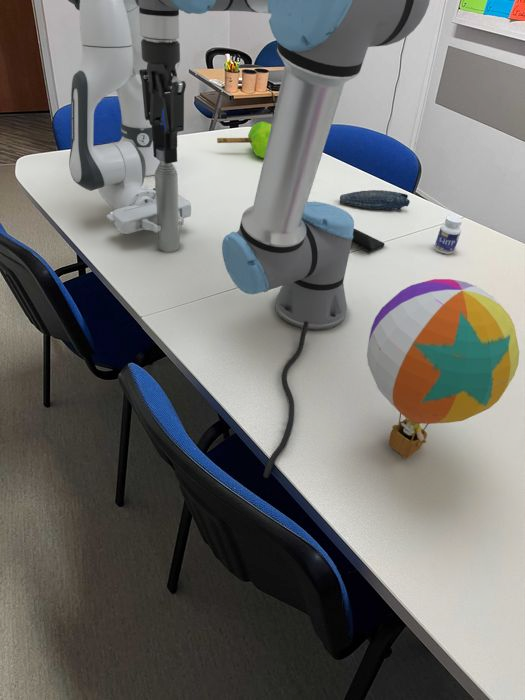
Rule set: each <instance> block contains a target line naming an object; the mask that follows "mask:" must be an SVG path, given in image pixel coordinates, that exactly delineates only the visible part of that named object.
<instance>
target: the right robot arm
mask: <svg viewBox="0 0 525 700" xmlns="http://www.w3.org/2000/svg"><path fill="white" fill-rule="evenodd" d="M430 2H431V0H139V19H140V35H141V36H142V37H144V39H142V41H141V49H142V59H143V60H144V61H145V62H147V63H148V64H147V69H142V70H140V71H139V73H140V75H139V77H140V81H141V85H142V90H143V102H144V114H145V119H146V120H149V121H150V125H151V126H152V138H153V153H154V157H155V158H156V147H158V146H164V147H165V163H167V164H168V163H172V164H173V163H177V162H178V133H179V132H184V130H185V91H186V88H187V86H186V85H187V83H186V81H185V80H180V79H179V78H178V73H177V70H176V68H175V66H176V64H177V63H179V61H180V62H181V44H180V42H179V40H178V39H179V38H180V17H179V15H180V11H181V12H184V13H185V14H188V15H190V14H195V15H202V14H205V13H207V12H249V13H257V14H259V13H261V14H268V15H269V14H270V18H269V19H268V24H269V28H270V31H271V33H272V35H273V37H274V39H275V40H276V41H277V46H276V47H277V48H276V52H277V54H278V56H279V58H280V59H281V61H282V63H283V65H284V68H283V72H282V76H281V81H280V86H279V90H278V95H277V98H276V103H275V109H274V111H273V112H274V113H273V117H272V121H271V124H272V125H271V130H270V134H269V138H268V143H267V147H266V152H265V156H264V158H263V161H262V165H261V170H260V174H259V179H258V183H257V188H256V192H255V197H254V200H253V205H251V206H249V207H248V208H246V209H245V210H244V211H243V213H242V216H241V219H240V223H239V228H238V230H237V231H231V232H230V233H228V234H226V235H225V236H224V238H223V239H222V243H221V253H222V254H221V255H222V259H223V263H224V266H225V269H226V271H227V274H228V275H229V277H230V279H231V280H232V282H233V284H234V285H235V286H236V287H237V288H238V289H239V290H240V291H241V292H242V293H245V294H247V295H255V294H260V293H267V292H269V291H271V290H274V289H277V288H280V290H279V291H278V294H277V296H276V300H275V311H276V313H277V315H278V316H279V317H280V318H281V319H282V320H283V321H284V322H286V323H287V324H289V325H291V326H293V327H296V328H300V329H302V330H301V332H300V336H299V343H298V346H297V349H296V351H295V353H294V354H293V355H292V357H291V358H290V359H289V360H288V361H287V363H286V364H285V365H284V367H283V369H282V371H281V383H282V387H283V390H284V392H285V393H284V394H285V396H286V398H287V401H288V417H287V422H286V427H285V430H284V433H283V436H282V438H281V441H280V443H279V444H278V446H277V447H276V448H275V450H274V451H273V452H272V454H271V455H270V457H269V459H268V461H267V462H266V465H265V468H264V470H263V473H262V474H263V478H265V479H268V478H270V475H271V472H272V469H273V467H274V464H275V462H276V461H277V459H278V458H279V456H280V455H281V454H282V452H283V451H284V449H285V448H286V446H287V444H288V441H289V439H290V435H291V433H292V429H293V425H294V420H295V400H294V396H293V393H292V391H291V388H290V386H289V383H288V372H289V370H290V368H291V367H292V366H293V364H294V363H295V362H296V361H297V360H298V358H300V356H301V354H302V352H303V349H304V347H305V346H304V345H305V340H306V336H307V331H308V330H310V331H324V330H325V331H326V330H329V329H333V328H336V327H337V326H339V325H340V324H342V323H343V322H344V320H345V318H346V315H347V310H348V309H347V308H348V307H347V306H348V305H347V297H346V292H345V286H344V280H345V275H346V271H347V267H348V262H349V257H350V253H351V247H352V244H353V243H352V239H353V230H354V229H355V220H354V218H353V216H352V215H351V214H350V213H349V212H348V211H346V210H345V209H343V208H340V207H339V206H336V205H333V204H329V203H325V202H320V201H308V200H309V197H310V194H311V191H312V188H313V184H314V181H315V179H316V175H317V172H318V169H319V165H320V162H321V159H322V156H323V153H324V149H325V145H326V143H327V140H328V137H329V135H330V130H331V128H332V124H333V121H334V118H335V114H336V111H337V109H338V105H339V102H340V98H341V96H342V92H343V90H344V86H345V84H346V83H347V82H349V81H351V80H353V79H355V78H356V77H357V76H359V74H360V72H361V69H362V67H363V64H364V61H365V58H366V54H367V52H368V48H373V47H383V46H389V45H393V44H395V43H398V42H401V41H402V40H405V38H407V37H408V36H409V35H410V34H411V33H413V32H414V31H415V30H416V28H417V27H418V26H420V24H421V23H422V21H423V19H424V17H425V15H426V13H427V10H428V9H429V5H430ZM149 113H150V114H149ZM163 117H164V120H163ZM163 124H164V125H163Z"/></svg>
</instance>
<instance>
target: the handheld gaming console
mask: <svg viewBox="0 0 525 700" xmlns="http://www.w3.org/2000/svg"><path fill="white" fill-rule="evenodd" d="M351 244H354V245H356V246H358V247H359V248H361V249H363V250H365V251H367V252H368V253H372V252H375V251H377V250H379V249H381V248H384V247H385V243H384V242H383V241H380V240H379V239H378V238H375V237H372V236H370V235H368V234H366V233H365V232H363V231H360V230H359V229H356V228H354V230H353V239H352V243H351Z"/></svg>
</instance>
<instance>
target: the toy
mask: <svg viewBox="0 0 525 700" xmlns="http://www.w3.org/2000/svg"><path fill="white" fill-rule="evenodd" d="M517 337H518V336H517V333H516V328H515V323H514V321H513V320H512V318H511V315H510V314H509V313H508V311H507V310H506V309H505V308H504V306H502V304H501V303H500V302H499V300H498V299H496V297H494V296H493V295H492V294H490V293H489V292H487V291H486V290H484V289H482V288H481V287H479V286H477V285H475V284H471V283H469V282H466V281H462V280H457V279H451V278H433V279H430V280H426V281H422V282H419V283H414V284H411V285H409V286H407V287H405V288H403V289H401V290H400V291H399V292H398V293H397V294H395V296H393V297H392V298H391V299H389V301H388V302H386V304H384V305H383V306H382V307H381V308H380V310H379V311H378V313H377V314H376V315H375V318H374V319H373V322H372V325H371V328H370V332H369V337H368V344H367V350H366V359H367V365H368V368H369V371H370V372H371V373H370V374H371V375H372V378H373V380H374V382H375V385H376V388H377V390H378V391H379V392H380V393H381V394H382V395H383V397H384V398H385V399H386V400H387V401H388V402H389V403H390V404H391V405H392V406H393V407H394V408H395V410H397V411H398V412H399V418H398V423H397V424H393V425H392V427H391V428H392V429H391V430H390V433H389V436H388V445H389V447H390V448H391V449H392V450H394V451H395V452H397V453H398V454H399V455H400V456H402V457H403V458H404V459H409V458H410V457H411V456H413V455H414V454H416V453H417V452H418V451H419V450H421V448H422V447H423V445H424V444H426V443H427V437H428V432H427V431H426V428H427V427H428V425H432V424H447V423H456V422H457V423H458V422H463V421H466V420H468V419H470V418H472V417H474V416H476V415H478V414H481V413H483V412H485V411H487V410H489V409H490V408H492V406H494V405H495V404H497V402H499V401H500V399H501V398H502V396H503V395H504V393H505V391H506V390H507V389H508V387H509V385H510V383H511V382H512V381H513V378H514V377H515V375H516V372H517V369H518V366H519V360H520V359H519V358H520V348H519V344H518V343H519V342H518V338H517ZM402 416H403V417H405V419H404V420H401V419H402V418H401V417H402ZM423 424H424V425H425V424H426V425H425V426H424V428H422V426H421V425H423Z"/></svg>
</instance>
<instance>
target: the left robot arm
mask: <svg viewBox="0 0 525 700" xmlns="http://www.w3.org/2000/svg"><path fill="white" fill-rule="evenodd" d="M67 1H68V2H69V3H70V4H72V5H74V7H75V9H76V10H77V11H79V32H80V41H81V42H80V43H81V48H82V49H81V51H82V55H81V61H80V66H79V69H78V71H77V72H76V73H74V74H73V76H72V80H71V88H70V89H71V92H70V121H71V122H70V139H71V140H70V151H69V158H68V159H69V161H68V166H69V172H70V175H71V178H72V180H73V181H74V183H76V184H77V185H78V186H79V187H81V188H83V189H85V190H87V191H90V192H92V191H95V190H98V193H99V195H100V197H101V198H102V199H103V201H104V202H105V203H107V204H108V205H109V206H110V207H111V208H112V209H114V210H113V211H110V212H109V213H108V214H106V219H107V220H108V221H109V222H111V223H113V225H114V227H115V228H116V229H117V230H118V231H119V232H120V233H121V234H126V235H129V234H133V233H136V232H140V231H143V230H145V231H152V232H153V233H156V234H158V232H160V231H161V225H160V224H159V223H157V207H156V189H155V187H147V186H143V184H144V182H145V179H146V176H147V177H148V176H155V170H156V168H157V167H158V165H159V164H160V160H158V159H157V158H155V157H154V153H153V138H152V126H151V125H150V121H149V120H146V119H145V114H144V102H143V90H142V83H141V82H140V81H139V80H138V78H137V76H136V75H139V76H140V73H139V71H140V70H142V69H147V64H148V63H147V62H145V61H144V60H143V59H142V49H141V41H142V39H144V37H142V36H141V35H140V19H139V0H67ZM180 63H181V60H180V61H179V63H177V64H176V66H175V68H176V71H177V70H178V69H179V66H180ZM114 92H116V94H117V97H118V102H119V109H120V115H121V116H120V118H121V123H120V134H121V138H120V140H119V141H115V142H109V143H105V144H97V145H94V125H95V122H94V121H95V119H94V118H95V110H96V108H97V106H98V105H99V103H100V102H101V101H102V100H103V99H104V98H106V97H107V96H109V95H110V94H112V93H114ZM149 114H150V113H149ZM178 211H179V227H180V226H181V227H182V226H184V225H185V220H184V219H186V218H189V217H191V216H192V203H191V202H190V201H189V200H188V199H187V198H185V197H183V196H181V195H179V194H178Z"/></svg>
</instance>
